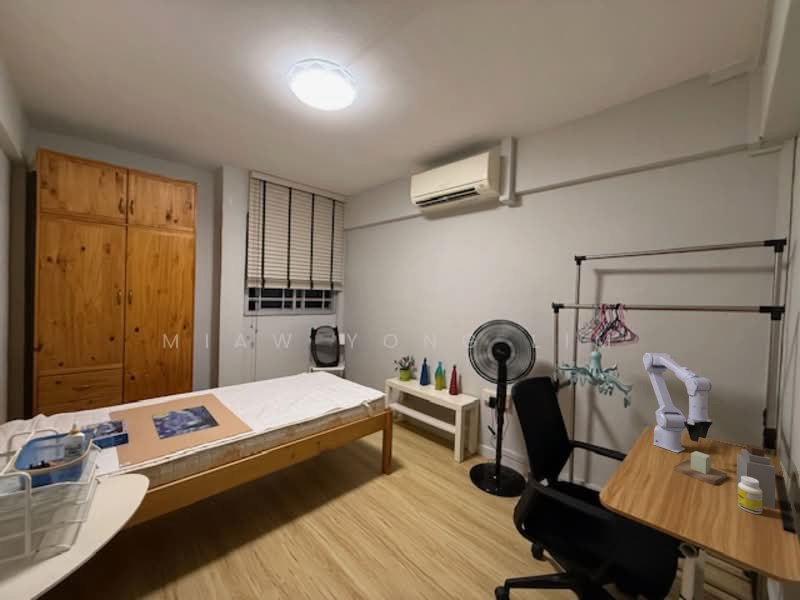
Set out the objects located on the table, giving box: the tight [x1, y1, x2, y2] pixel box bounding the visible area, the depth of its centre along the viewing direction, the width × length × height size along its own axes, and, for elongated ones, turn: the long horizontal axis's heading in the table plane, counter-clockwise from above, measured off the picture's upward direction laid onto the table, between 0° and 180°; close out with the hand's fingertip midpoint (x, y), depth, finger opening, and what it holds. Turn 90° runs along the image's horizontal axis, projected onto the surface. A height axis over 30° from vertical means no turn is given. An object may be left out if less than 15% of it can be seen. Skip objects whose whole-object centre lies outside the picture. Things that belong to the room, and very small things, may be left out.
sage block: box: [690, 450, 712, 474], centre depth 126 cm, size 4×4×6 cm
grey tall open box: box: [736, 443, 776, 509], centre depth 110 cm, size 7×7×18 cm
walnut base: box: [673, 459, 728, 486], centre depth 126 cm, size 12×12×2 cm
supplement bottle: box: [737, 476, 763, 515], centre depth 105 cm, size 5×5×10 cm
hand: (698, 439), depth 134 cm, fingers open, 7 cm apart
